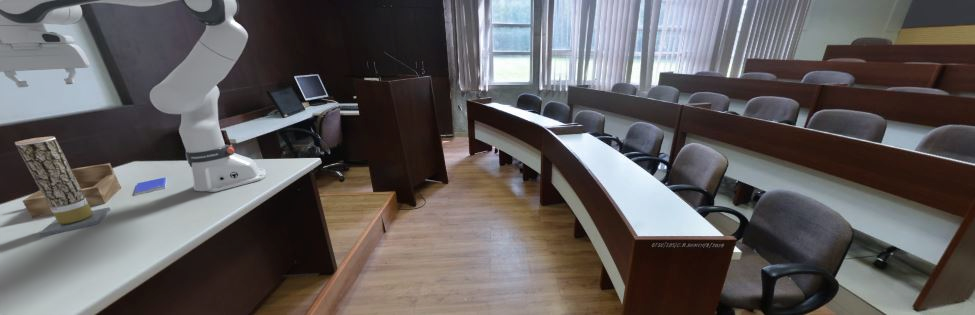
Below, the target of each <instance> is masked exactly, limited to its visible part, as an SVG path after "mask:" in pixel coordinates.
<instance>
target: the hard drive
mask: <svg viewBox="0 0 975 315" xmlns="http://www.w3.org/2000/svg"><path fill="white" fill-rule="evenodd" d="M166 180H167V177H161V178H155V179H152V180H146V181H143V182H142V181H141V182H138V183H136V187H135V189H134V191H133V194H134V196H137V195H143V194H147V193H151V192H156V191H160V190H164V189H166V188H167V181H168V180H167V181H166Z"/></svg>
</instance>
